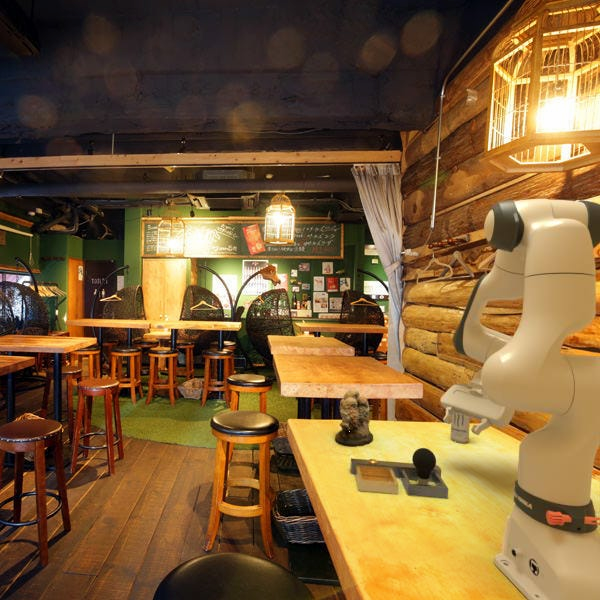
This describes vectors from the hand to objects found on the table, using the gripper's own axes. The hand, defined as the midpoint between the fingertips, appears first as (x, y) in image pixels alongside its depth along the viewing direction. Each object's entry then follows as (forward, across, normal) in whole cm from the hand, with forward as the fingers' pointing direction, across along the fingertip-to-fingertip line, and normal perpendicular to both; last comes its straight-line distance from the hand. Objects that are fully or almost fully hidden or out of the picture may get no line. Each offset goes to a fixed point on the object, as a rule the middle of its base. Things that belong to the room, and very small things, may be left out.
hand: (459, 427), depth 106 cm
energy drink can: (-9, -23, +30) cm, 39 cm away
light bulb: (+19, 0, +2) cm, 19 cm away
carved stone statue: (+17, -36, +4) cm, 40 cm away
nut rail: (+22, -4, -2) cm, 22 cm away
